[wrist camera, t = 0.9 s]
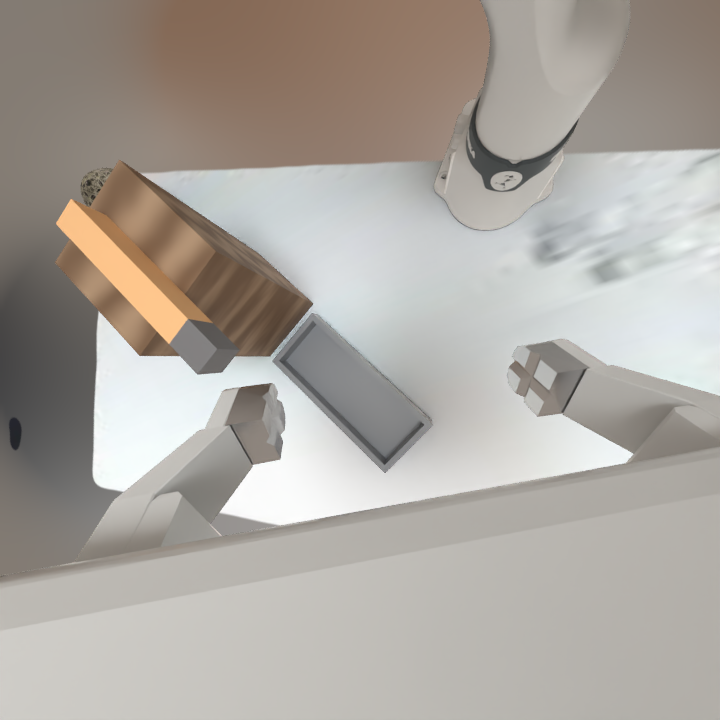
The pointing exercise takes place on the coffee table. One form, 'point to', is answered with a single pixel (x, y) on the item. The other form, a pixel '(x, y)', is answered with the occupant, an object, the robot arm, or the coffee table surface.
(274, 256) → the coffee table surface
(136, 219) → the stand
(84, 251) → the marker
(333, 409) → the tray
